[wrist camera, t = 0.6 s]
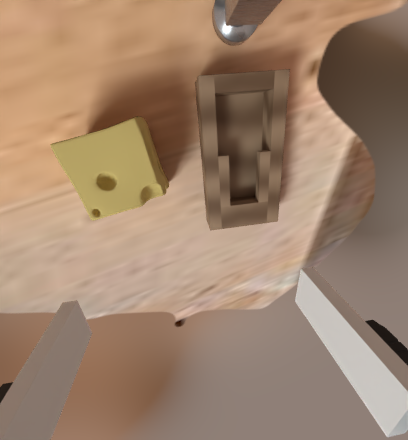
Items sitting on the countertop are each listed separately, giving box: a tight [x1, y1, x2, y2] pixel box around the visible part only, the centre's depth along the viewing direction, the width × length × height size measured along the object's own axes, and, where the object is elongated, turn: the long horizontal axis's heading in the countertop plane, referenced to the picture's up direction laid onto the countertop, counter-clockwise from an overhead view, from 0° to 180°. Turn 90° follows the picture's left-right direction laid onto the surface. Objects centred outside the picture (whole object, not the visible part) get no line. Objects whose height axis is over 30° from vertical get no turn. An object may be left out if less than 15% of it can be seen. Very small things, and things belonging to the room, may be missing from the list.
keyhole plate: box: [195, 69, 290, 230], centre depth 33 cm, size 22×12×4 cm, turn 5°
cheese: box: [51, 117, 169, 220], centre depth 29 cm, size 10×11×10 cm
